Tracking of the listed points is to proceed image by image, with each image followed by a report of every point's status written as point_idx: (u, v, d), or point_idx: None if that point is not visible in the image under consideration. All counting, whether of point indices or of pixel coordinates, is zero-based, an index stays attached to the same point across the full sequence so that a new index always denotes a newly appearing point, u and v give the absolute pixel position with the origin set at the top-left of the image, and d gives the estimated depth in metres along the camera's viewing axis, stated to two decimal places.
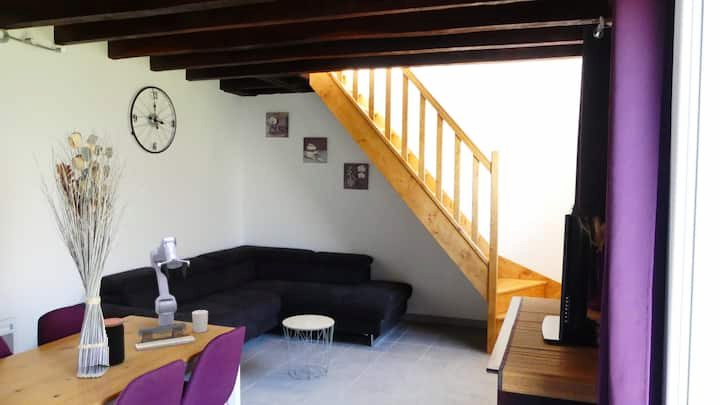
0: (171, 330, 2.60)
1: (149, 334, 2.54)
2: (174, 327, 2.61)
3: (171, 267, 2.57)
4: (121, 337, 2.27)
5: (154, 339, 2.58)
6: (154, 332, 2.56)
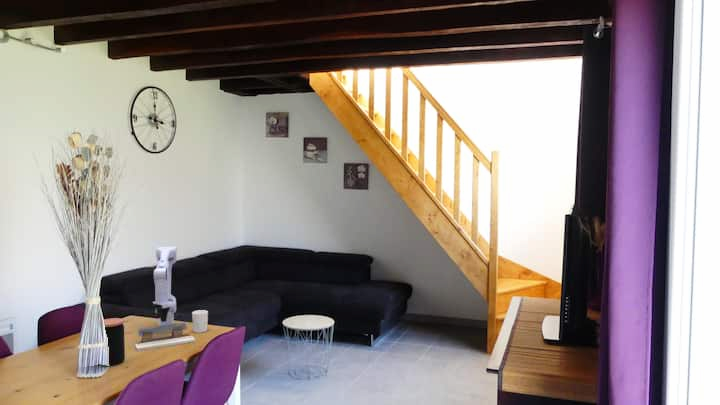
0: (171, 330, 2.60)
1: (149, 334, 2.54)
2: (174, 327, 2.61)
3: None
4: (121, 337, 2.27)
5: (154, 339, 2.58)
6: (154, 332, 2.56)
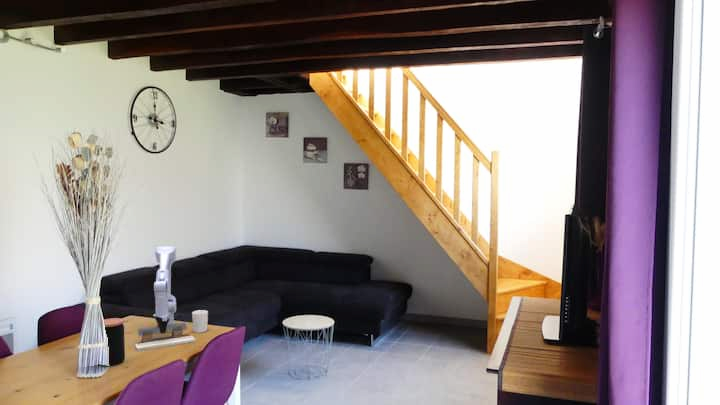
0: (171, 330, 2.60)
1: (149, 334, 2.54)
2: (174, 327, 2.61)
3: None
4: (121, 337, 2.27)
5: (154, 339, 2.58)
6: (154, 332, 2.56)
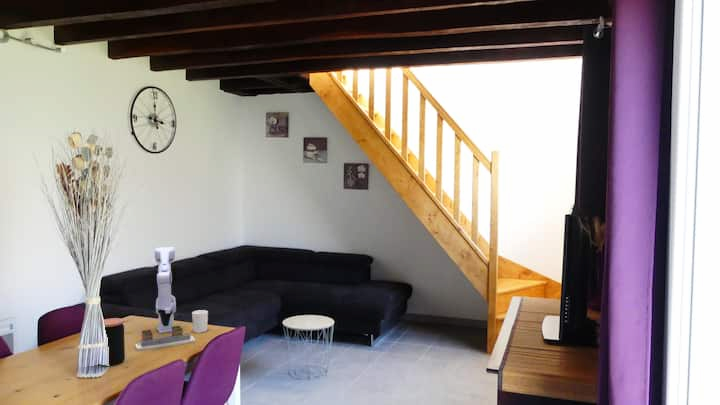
0: None
1: (149, 334, 2.54)
2: None
3: None
4: (121, 337, 2.27)
5: None
6: None
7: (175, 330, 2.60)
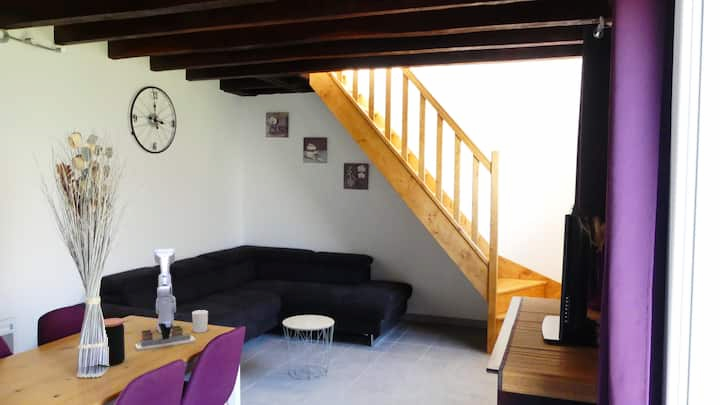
0: None
1: (149, 334, 2.54)
2: None
3: None
4: (121, 337, 2.27)
5: None
6: None
7: (175, 330, 2.60)
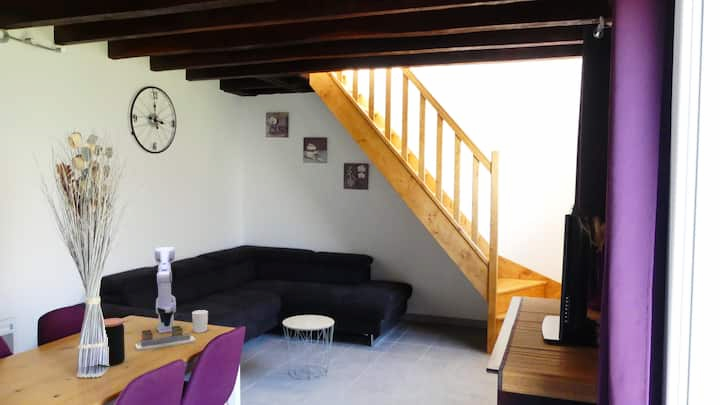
0: None
1: (149, 334, 2.54)
2: None
3: None
4: (121, 337, 2.27)
5: None
6: None
7: (175, 330, 2.60)
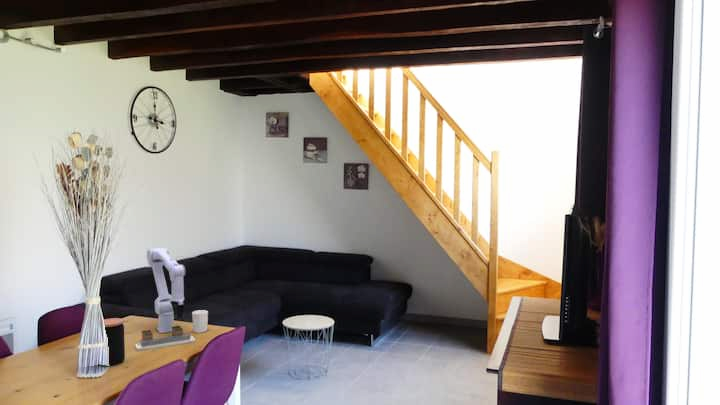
0: None
1: (149, 334, 2.54)
2: None
3: None
4: (121, 337, 2.27)
5: None
6: None
7: (175, 330, 2.60)
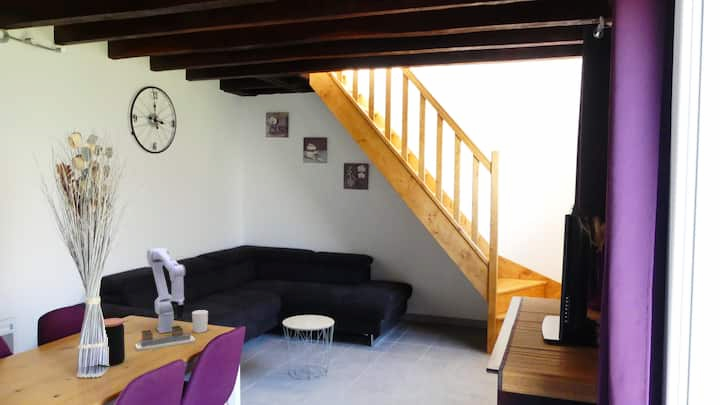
0: None
1: (149, 334, 2.54)
2: None
3: None
4: (121, 337, 2.27)
5: None
6: None
7: (175, 330, 2.60)
